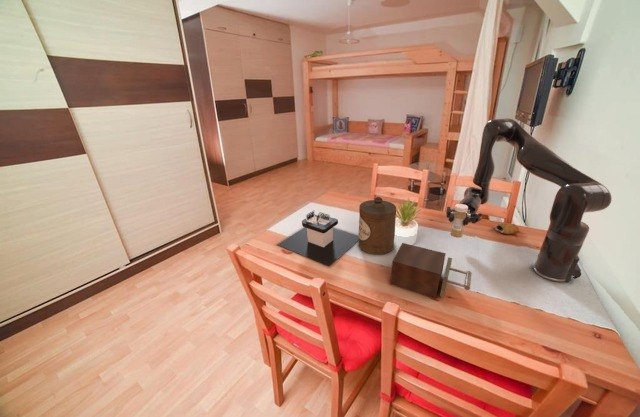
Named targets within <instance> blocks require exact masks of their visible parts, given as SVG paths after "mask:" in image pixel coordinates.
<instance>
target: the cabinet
mask: <svg viewBox="0 0 640 417" xmlns="http://www.w3.org/2000/svg"><path fill="white" fill-rule="evenodd" d="M446 254H447V253H446V252H443V251H438V250H434V249H430V248H425V247H421V246H417V245H413V244H408V243H405V242H402V243H401V244H400V246H399V248H398V250H397V251H396V253H395V256H394V257H393V259H392V262H391V272H390V283H389V284H390V285H392V286H396V287H399V288H402V289H404V290H408V291H410V292H414V293H417V294H421V295H423V296H426V297H430V298H433V299H437V295H438V291H439V287H440V283H441V279H442V275H443V270H444V265H445V258H446ZM440 274H441V275H440Z"/></svg>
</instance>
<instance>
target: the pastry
mask: <svg viewBox="0 0 640 417" xmlns="http://www.w3.org/2000/svg"><path fill="white" fill-rule="evenodd" d="M493 228H494V230H495V231H496V232H500V233H501V234H504V235H513V234H516V233H518V231H519V226H518V225H516V224H515V223H510V222H505V221H503V222H499V223H497V224H495V225H494V227H493Z"/></svg>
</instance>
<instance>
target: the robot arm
mask: <svg viewBox="0 0 640 417" xmlns="http://www.w3.org/2000/svg"><path fill="white" fill-rule="evenodd" d="M480 141H481V142H480V149H479V156H478V162H477V166H476V169H475V172H474V176H473V178H472V183H473V184H474V185H475V186H477V187H475V186H469V187H467V188H466V189H465V190H464V193H463V199H461V201H460V202H459V203H458V204H464V205H467V206H468V211H467V213H466V218H465V220H464V223H463V225H464V227H465V226H468V225H469V224H470V223H471V224H474V225H475V224H476V223H478V222H480V221H481V220H482V218H483V213H477V212H478V211H479V208H480V206H482V205H485V204H487V203H488V202H489V200H490V185H491V181H492V178H493V177H494V173H495V168H496V167H495V166H496V165H495V160H494V157H493V149H494V146H495V143H500V142H506V143H508V144H509V145H511V146H512V147H514V149H515V157H516V161H517V162H518V164H519V165H520V166H522V167H523V168H524V169H525V171H527V172H528V173H529V174H532V175H534V176H535V177H537V178H539V179H542V180H545V181H547V182H550V183H553V184H554V185H557V186H558V187H560V188H559V189H558V190H557V191H556V194H555V196H554V199H553V203H552V206H551V208H550V213H549V225H548V228H547V230H546V234H545V235H544V239H543V240H542V241H543V242H542V244H541V247H540V250H539V252H538V254H537V257H536V260H535V263H534V265H533V268H532V270H533V271H534V272H535V274H537V275H538V276H539V277H541V278H544V279H546V280H549V281H552V282H557V283H564V282H565V283H570V282H571V280H572V278H573V279H574V280H576V279H578V278H580V277H581V276H582V270H581V268H580V265H579V261H580V257H579V255H580V252H581V250H582V247H583V245H584V243H585V241H586V238H587V236H588V234H589V232H590V226H589V224H587V223H586V222H584V221H583V217H584V214H585V213H586V214H587V213H595V212H600V211H603V210H606V209H607V208H609V206H610V205H611V203H612V193H611V192H610V190H609V188H607V186H605V185H604V184H603V183H601V182H600V181H597V180H596V179H594V178H593V177H591V176H589V175H587V174H586V173H584V172H582V171H580V170H579V169H577V168H576V167H574V166H573V165H572V164H570V163H569V162H568V161H566V160H565V159H563V158H562V157H560V156H559V155H558V154H557V153H556V152H554V151H553V150H552V149H550V148H549V147H548V146H546V145H545V144H543V143H542V142H540V141H539V140H538V139H537V138H536V137H535V136H533V135H531V134H530V133H529V132H527V130H526V129H525V128H524V127H523V126H522V125H520V123H519V122H518V121H516V120H515V119H513V118H493V119H489V120H488V121H487V122H486V124H485V125H484V127H483V130H482V135H481V140H480ZM478 187H479V188H478ZM454 212H455V207H454V208H451V206H447V207H446V214H445V215H446V218H448V221H449V223H453V217H454Z"/></svg>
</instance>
